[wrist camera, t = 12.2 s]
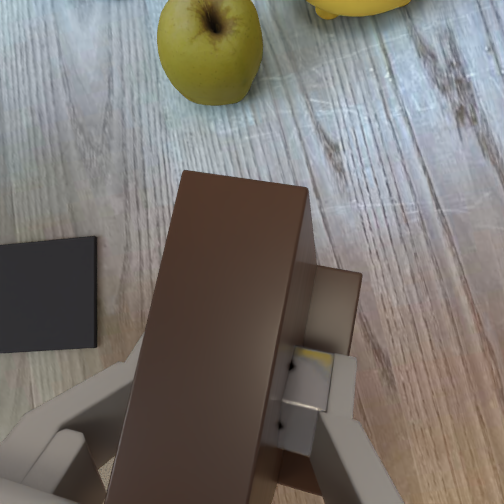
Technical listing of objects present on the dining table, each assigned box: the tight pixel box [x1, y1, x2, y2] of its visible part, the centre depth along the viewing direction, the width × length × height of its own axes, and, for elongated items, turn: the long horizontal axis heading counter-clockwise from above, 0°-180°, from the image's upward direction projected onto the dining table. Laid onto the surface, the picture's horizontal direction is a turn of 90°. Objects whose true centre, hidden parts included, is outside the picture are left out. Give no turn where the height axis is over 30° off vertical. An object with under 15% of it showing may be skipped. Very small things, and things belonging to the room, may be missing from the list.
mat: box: [0, 236, 97, 353], centre depth 34 cm, size 9×9×1 cm
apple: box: [157, 0, 263, 106], centre depth 31 cm, size 8×8×10 cm
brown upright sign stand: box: [104, 170, 362, 504], centre depth 10 cm, size 7×5×9 cm
